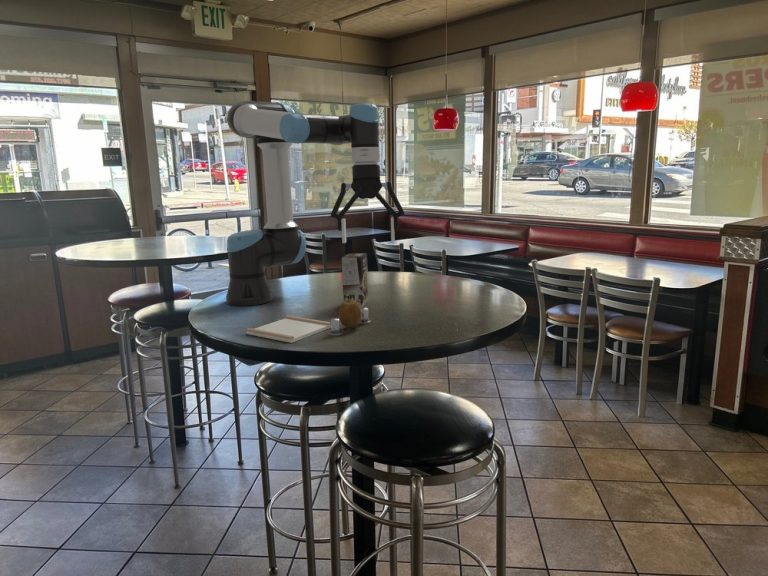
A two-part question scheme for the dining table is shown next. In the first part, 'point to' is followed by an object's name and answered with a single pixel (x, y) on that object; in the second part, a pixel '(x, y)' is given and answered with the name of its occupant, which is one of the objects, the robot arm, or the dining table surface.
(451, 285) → the dining table surface
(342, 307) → the fruit
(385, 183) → the robot arm
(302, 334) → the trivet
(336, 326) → the pins
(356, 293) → the coffee box
